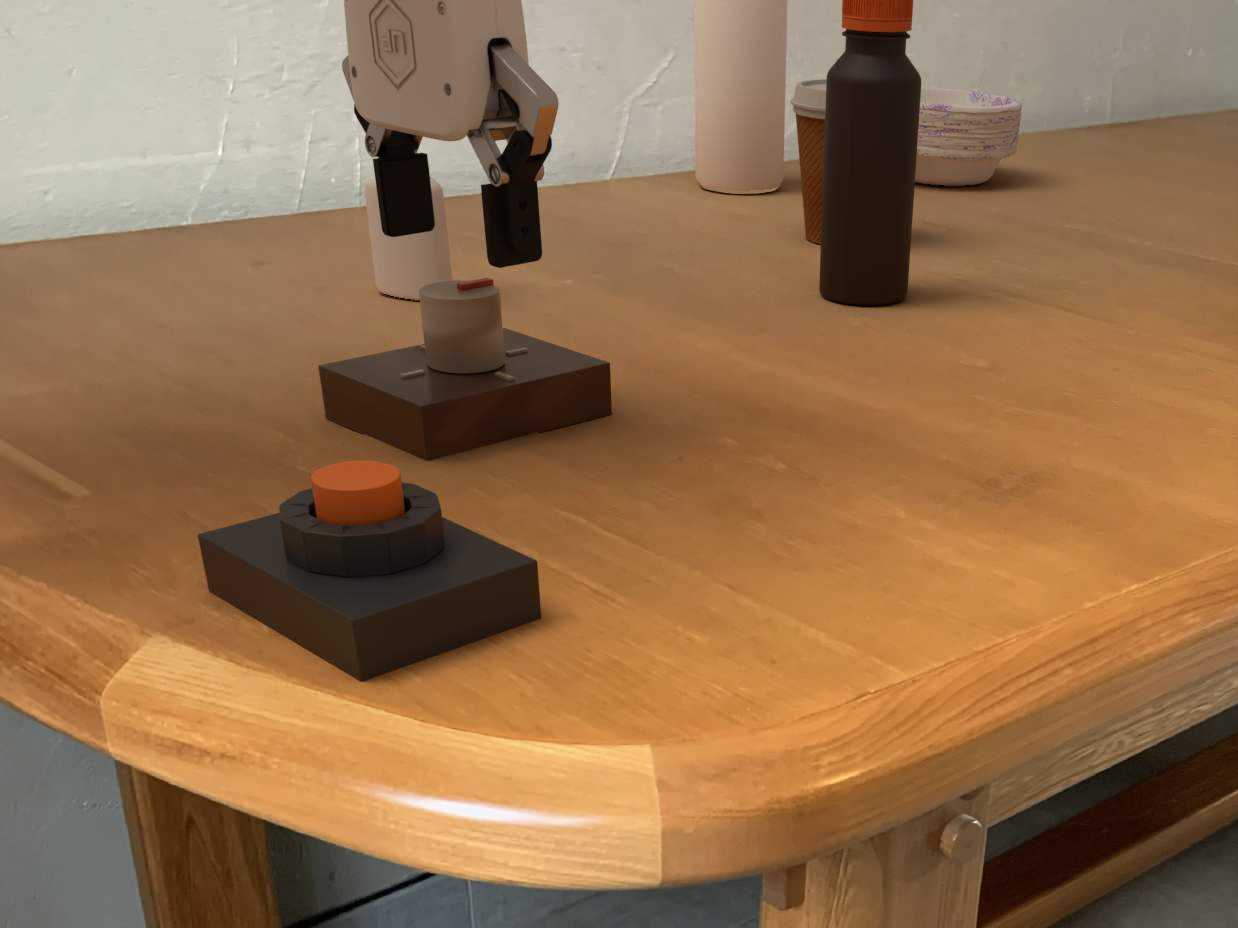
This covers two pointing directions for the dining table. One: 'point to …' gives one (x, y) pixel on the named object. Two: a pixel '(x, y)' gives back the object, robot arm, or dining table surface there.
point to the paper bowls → (964, 135)
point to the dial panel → (465, 396)
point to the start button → (357, 493)
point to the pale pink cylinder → (740, 93)
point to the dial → (462, 326)
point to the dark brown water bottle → (870, 157)
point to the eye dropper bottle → (408, 249)
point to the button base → (371, 582)
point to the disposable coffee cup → (811, 150)
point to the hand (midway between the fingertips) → (460, 247)
